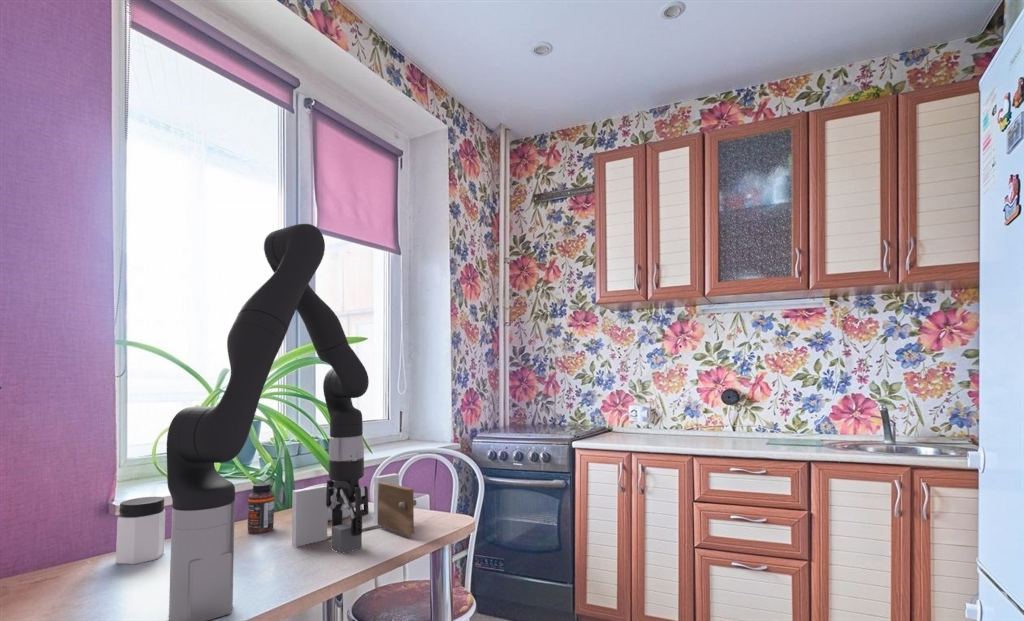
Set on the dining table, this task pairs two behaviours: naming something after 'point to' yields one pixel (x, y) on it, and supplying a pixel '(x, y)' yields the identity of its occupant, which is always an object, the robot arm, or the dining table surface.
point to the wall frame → (322, 512)
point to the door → (396, 507)
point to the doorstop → (345, 539)
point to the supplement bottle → (261, 509)
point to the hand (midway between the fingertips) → (346, 531)
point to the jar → (140, 530)
